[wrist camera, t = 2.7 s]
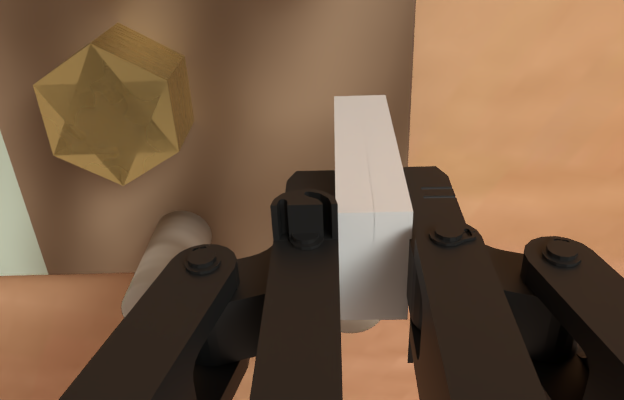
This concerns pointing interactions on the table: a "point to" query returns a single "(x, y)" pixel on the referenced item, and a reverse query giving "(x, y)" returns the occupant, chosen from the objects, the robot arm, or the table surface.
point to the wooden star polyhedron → (117, 105)
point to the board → (203, 134)
